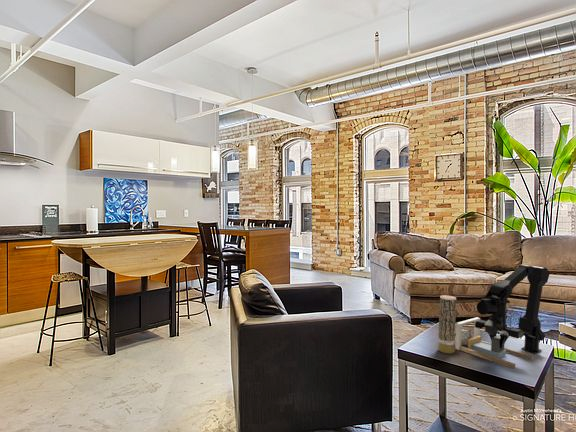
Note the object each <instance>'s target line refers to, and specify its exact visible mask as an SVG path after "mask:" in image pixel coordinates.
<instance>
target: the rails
mask: <svg viewBox="0 0 576 432" xmlns="http://www.w3.org/2000/svg"><path fill="white" fill-rule="evenodd" d="M481 342H482V343H485V344H488V345H491V342H489V341H485V340H482V339H481ZM504 350H506V354H510V355H512V356H513V355H514V356H516V357H517V356H518V357H520V358H523V359H527V360H528V361H529V360H530V361H532V360H533V358H534V356H533V354H532V355H531V354H528V353H525V352H522V351H519V350H515V349H511V348H508V347H505V346H504ZM460 351H462V352H464V353H467V354H469V355H472V356H476V357H478V358H482V359H485V360H488V361H491V362H493V361H494V363H495V364H499V365H501V366H505V367H508V368H510V369H511V368H512V369H516V368H517V367H516V366H517V365H516V363H514V362H512V361H509V360H505V359H502V358H496V357H493V356H490V355H487V354H484V353H481V352H478V351H475V350H472V349H469V348H468V347H466V346H464V345H461V350H460Z"/></svg>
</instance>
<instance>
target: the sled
mask: <svg viewBox="0 0 576 432" xmlns="http://www.w3.org/2000/svg"><path fill="white" fill-rule="evenodd" d="M500 339H501V337H500V334H498V335H496V337H493V338H492V341H491V342H490V343H491V345H488V344H485V343H482V342H481V340H482V336H481V335H480V336H477V337H474V336H473V337H472V338H471V339H468V345H467V346H468V347H467V348H469V349H472V350H475V351H478V352H481V353H484V354H487V355H490V356H493V357H496V358H499V359H502V358H503V357H505V356H507V352H506V350H504V347H505V345H504V346H503V347H502V349H500Z"/></svg>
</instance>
